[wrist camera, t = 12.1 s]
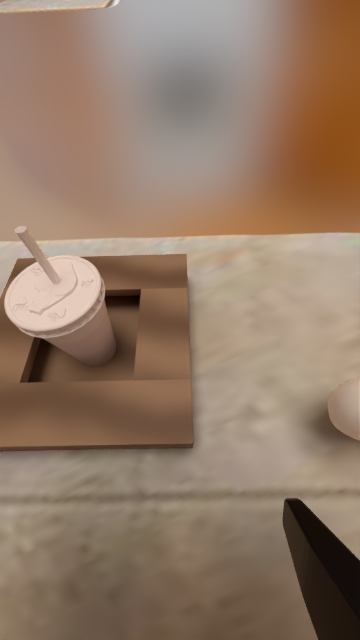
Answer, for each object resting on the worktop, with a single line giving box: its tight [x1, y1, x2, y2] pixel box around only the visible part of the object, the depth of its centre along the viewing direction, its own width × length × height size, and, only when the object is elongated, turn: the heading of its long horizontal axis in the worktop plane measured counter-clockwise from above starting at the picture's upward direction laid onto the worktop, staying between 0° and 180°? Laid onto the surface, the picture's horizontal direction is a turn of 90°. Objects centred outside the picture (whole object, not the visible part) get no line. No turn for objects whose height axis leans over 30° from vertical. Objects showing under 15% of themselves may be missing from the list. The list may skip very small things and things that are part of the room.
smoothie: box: [4, 226, 116, 367], centre depth 19 cm, size 6×6×14 cm
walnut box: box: [0, 254, 193, 451], centre depth 24 cm, size 18×18×4 cm
